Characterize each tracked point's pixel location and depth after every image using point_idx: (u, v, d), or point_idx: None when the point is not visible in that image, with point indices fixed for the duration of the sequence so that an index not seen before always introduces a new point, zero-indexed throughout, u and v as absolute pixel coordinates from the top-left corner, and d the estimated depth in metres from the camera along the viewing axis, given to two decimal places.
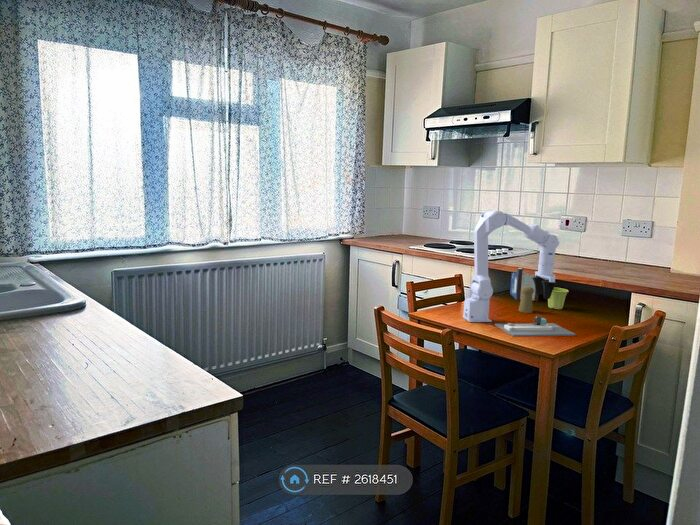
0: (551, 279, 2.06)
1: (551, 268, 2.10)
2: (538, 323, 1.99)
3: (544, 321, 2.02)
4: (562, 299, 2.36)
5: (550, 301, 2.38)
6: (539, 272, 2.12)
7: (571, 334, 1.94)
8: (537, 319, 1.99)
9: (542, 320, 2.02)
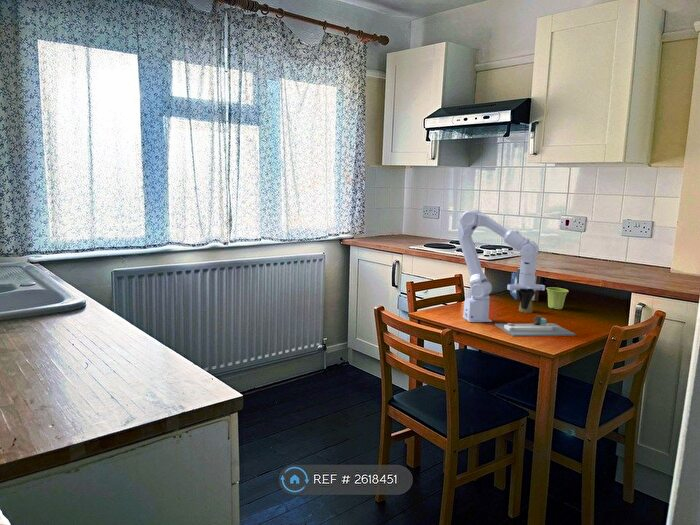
0: (507, 286, 2.00)
1: (522, 278, 1.99)
2: (538, 323, 1.99)
3: (544, 321, 2.02)
4: (562, 299, 2.36)
5: (550, 301, 2.38)
6: None
7: (571, 334, 1.94)
8: (537, 319, 1.99)
9: (542, 320, 2.02)
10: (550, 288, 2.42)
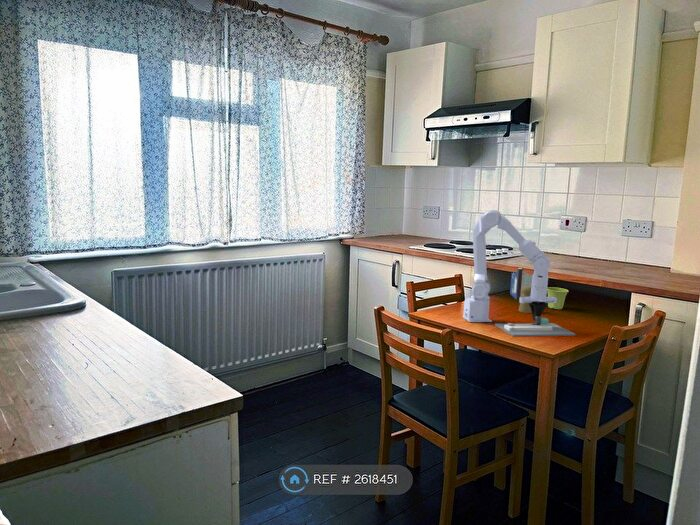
0: (519, 299, 2.02)
1: (534, 291, 2.00)
2: (538, 323, 1.99)
3: (546, 321, 2.02)
4: (562, 299, 2.36)
5: None
6: None
7: (571, 334, 1.94)
8: (537, 319, 1.99)
9: (544, 320, 2.02)
10: (550, 288, 2.42)
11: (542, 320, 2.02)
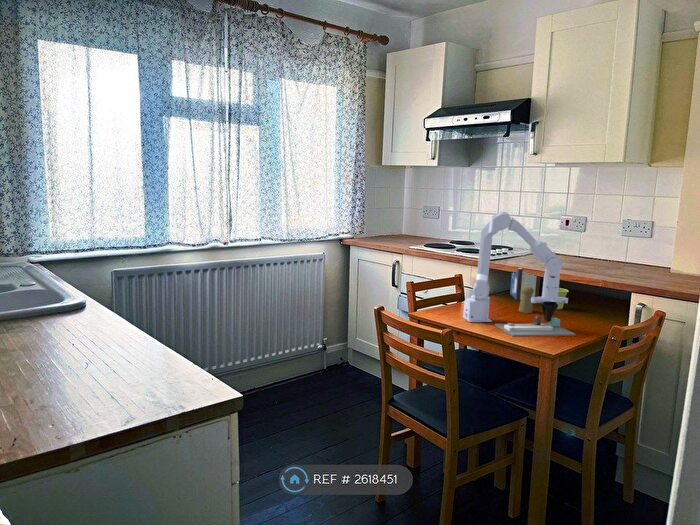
0: (531, 299, 2.03)
1: (546, 291, 2.01)
2: (538, 323, 1.99)
3: (558, 321, 2.03)
4: None
5: None
6: None
7: (571, 334, 1.94)
8: (537, 319, 1.99)
9: (556, 320, 2.03)
10: None
11: (553, 320, 2.03)
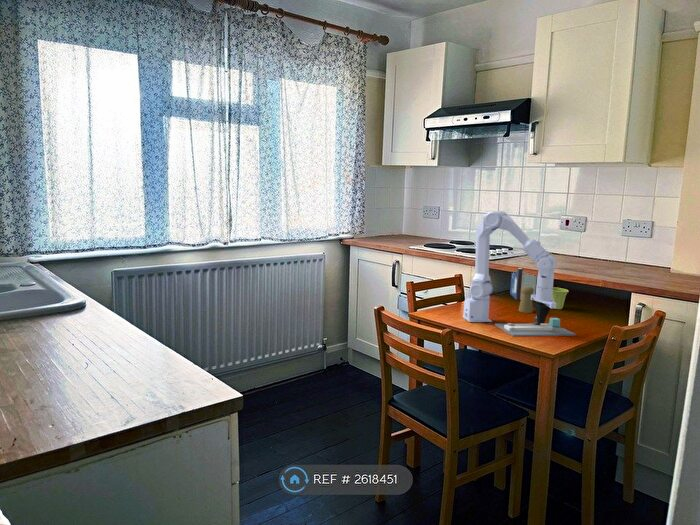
0: (552, 305, 1.89)
1: (550, 292, 1.94)
2: (538, 323, 1.99)
3: (558, 321, 2.03)
4: (562, 299, 2.36)
5: None
6: (537, 297, 1.95)
7: (571, 334, 1.94)
8: None
9: (556, 320, 2.03)
10: None
11: (553, 320, 2.03)
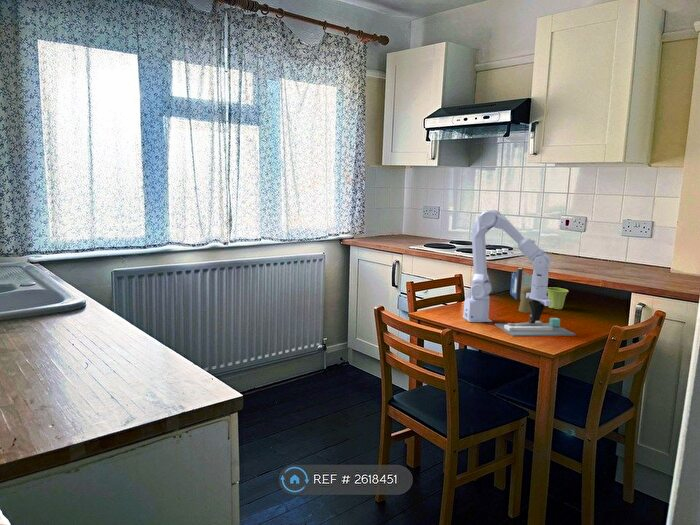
0: (547, 303, 1.92)
1: (545, 290, 1.97)
2: (534, 321, 2.02)
3: (558, 321, 2.03)
4: (562, 299, 2.36)
5: None
6: (532, 295, 1.98)
7: (571, 334, 1.94)
8: None
9: (556, 320, 2.03)
10: (550, 288, 2.42)
11: (553, 320, 2.03)
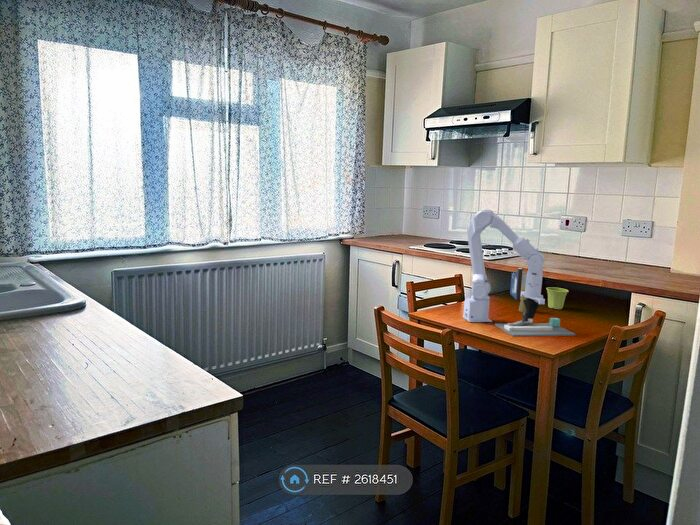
0: (541, 301, 1.95)
1: (539, 289, 2.00)
2: (527, 319, 2.05)
3: (558, 321, 2.03)
4: (562, 299, 2.36)
5: (550, 301, 2.38)
6: (527, 293, 2.01)
7: (571, 334, 1.94)
8: (526, 315, 2.04)
9: (556, 320, 2.03)
10: (550, 288, 2.42)
11: (553, 320, 2.03)
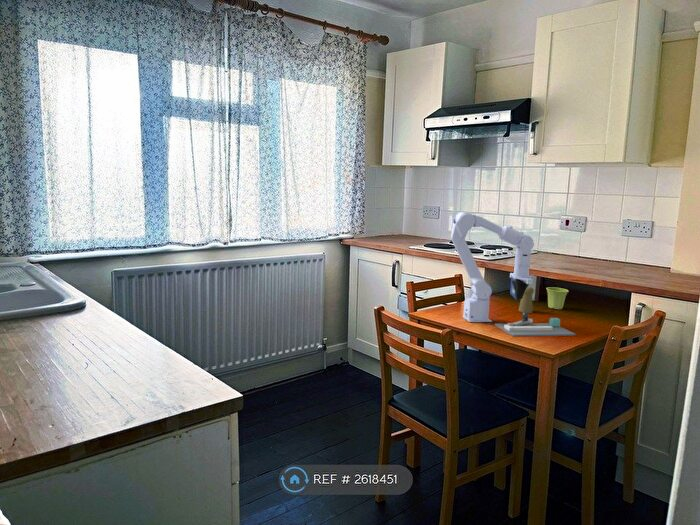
0: (528, 281, 2.02)
1: (527, 270, 2.06)
2: (527, 319, 2.05)
3: (558, 321, 2.03)
4: (562, 299, 2.36)
5: (550, 301, 2.38)
6: (515, 274, 2.07)
7: (571, 334, 1.94)
8: (526, 315, 2.04)
9: (556, 320, 2.03)
10: (550, 288, 2.42)
11: (553, 320, 2.03)
